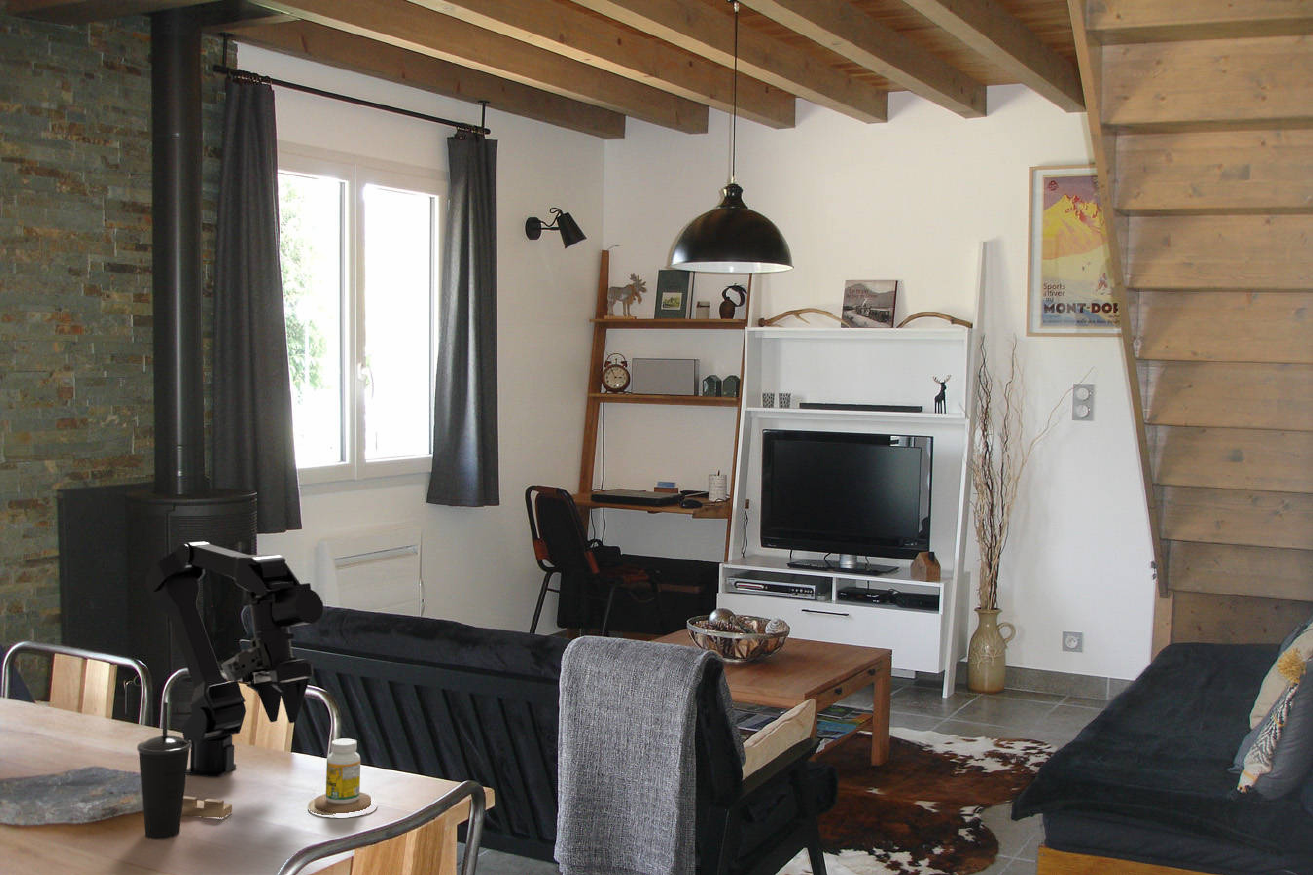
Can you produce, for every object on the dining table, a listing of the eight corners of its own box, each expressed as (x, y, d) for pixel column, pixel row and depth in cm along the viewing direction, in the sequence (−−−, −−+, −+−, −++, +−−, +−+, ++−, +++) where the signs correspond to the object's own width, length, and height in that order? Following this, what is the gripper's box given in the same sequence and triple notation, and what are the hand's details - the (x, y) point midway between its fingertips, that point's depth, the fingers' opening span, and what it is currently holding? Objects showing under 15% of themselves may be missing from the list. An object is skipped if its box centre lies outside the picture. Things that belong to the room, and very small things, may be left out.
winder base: (295, 814, 199) (295, 806, 199) (327, 793, 210) (327, 786, 210) (359, 821, 197) (359, 814, 197) (388, 800, 208) (388, 793, 208)
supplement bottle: (364, 801, 203) (366, 743, 202) (333, 806, 200) (335, 747, 199) (350, 792, 207) (352, 735, 207) (320, 797, 204) (322, 739, 204)
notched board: (175, 814, 197) (176, 797, 197) (186, 808, 200) (187, 791, 200) (221, 819, 195) (222, 802, 195) (231, 813, 198) (232, 796, 198)
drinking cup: (172, 821, 193) (176, 694, 193) (198, 833, 189) (202, 703, 188) (125, 833, 188) (128, 702, 187) (151, 846, 183) (154, 711, 182)
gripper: (206, 639, 213) (217, 731, 212) (241, 635, 198) (253, 733, 197) (270, 629, 220) (281, 717, 218) (308, 624, 205) (321, 719, 203)
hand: (282, 722), depth 209 cm, fingers open, 9 cm apart
